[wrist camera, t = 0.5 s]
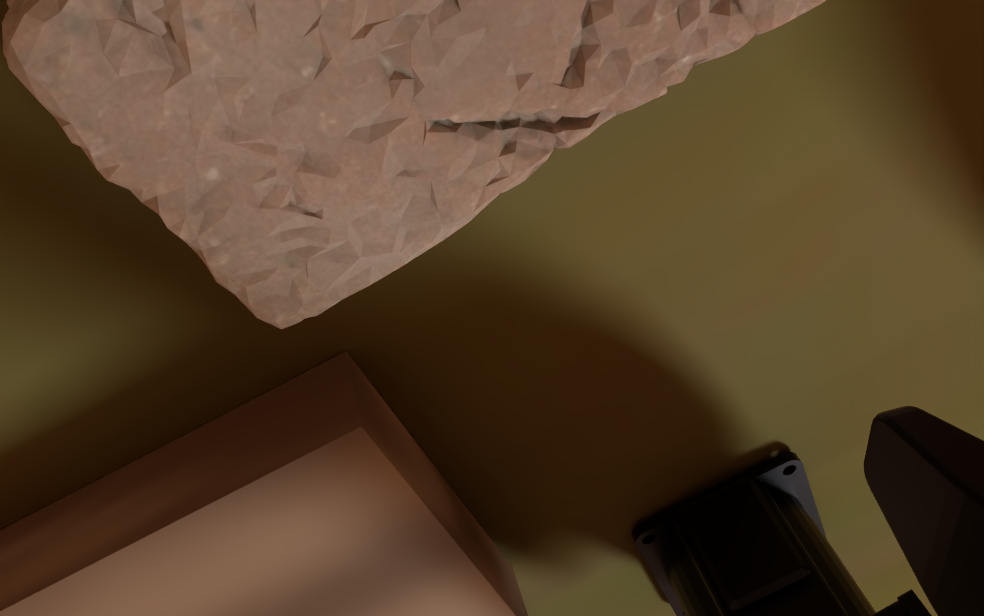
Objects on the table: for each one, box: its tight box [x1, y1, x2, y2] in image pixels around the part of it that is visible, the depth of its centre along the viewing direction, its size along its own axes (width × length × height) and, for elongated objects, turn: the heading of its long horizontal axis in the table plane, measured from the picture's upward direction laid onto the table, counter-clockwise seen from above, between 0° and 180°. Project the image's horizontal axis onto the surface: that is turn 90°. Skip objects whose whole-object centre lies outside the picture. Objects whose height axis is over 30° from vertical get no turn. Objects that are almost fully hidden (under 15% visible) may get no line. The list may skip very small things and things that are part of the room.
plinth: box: [0, 351, 528, 616], centre depth 28 cm, size 12×12×3 cm
